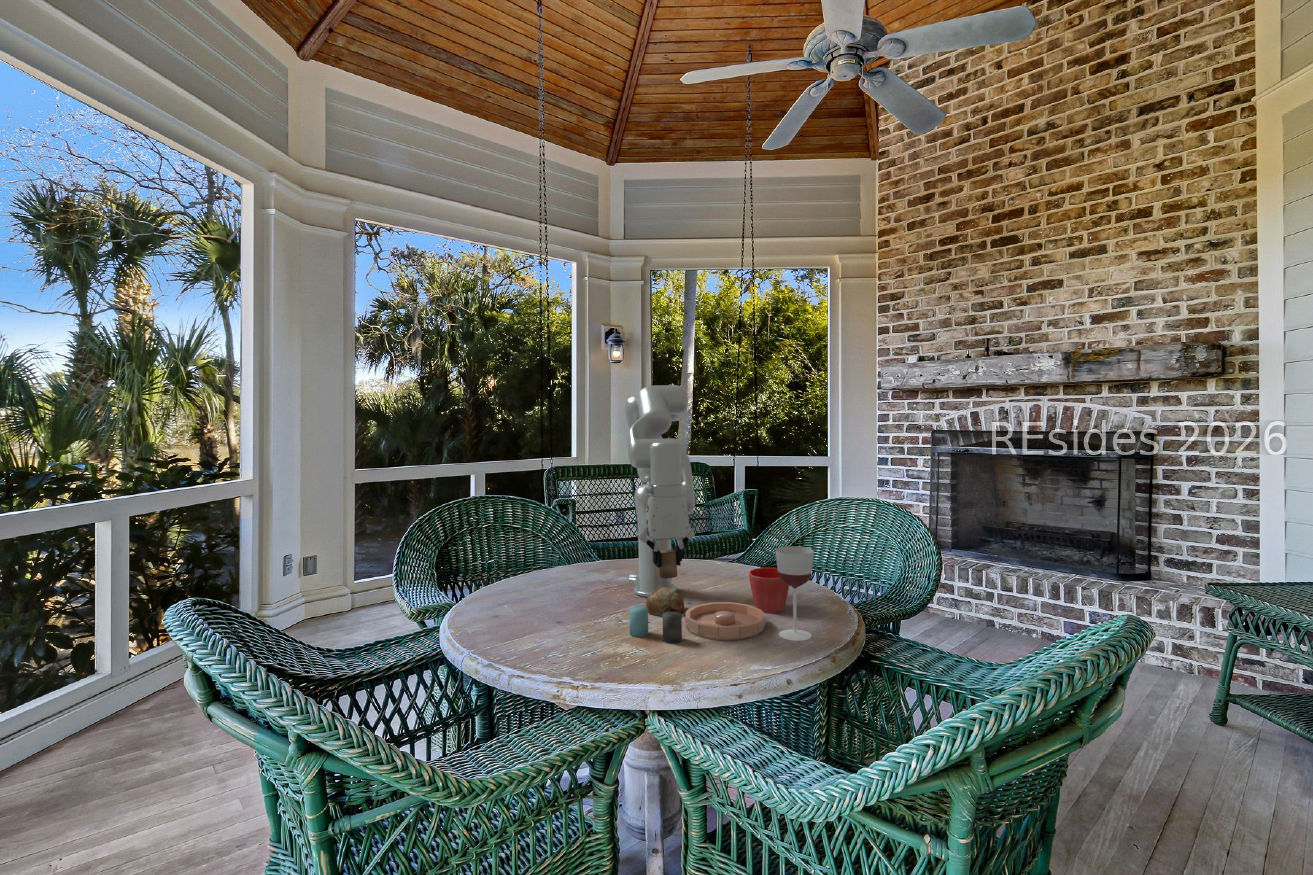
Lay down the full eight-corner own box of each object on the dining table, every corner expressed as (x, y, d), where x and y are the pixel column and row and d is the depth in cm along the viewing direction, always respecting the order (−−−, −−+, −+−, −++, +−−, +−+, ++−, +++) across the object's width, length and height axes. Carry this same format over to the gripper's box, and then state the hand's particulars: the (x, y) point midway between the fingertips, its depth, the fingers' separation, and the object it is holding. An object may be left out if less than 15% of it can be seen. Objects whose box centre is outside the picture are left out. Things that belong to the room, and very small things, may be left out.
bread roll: (653, 630, 167) (658, 606, 164) (637, 604, 175) (642, 581, 172) (686, 624, 172) (692, 600, 168) (669, 599, 180) (674, 576, 176)
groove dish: (672, 632, 155) (672, 619, 155) (706, 609, 172) (706, 598, 172) (746, 645, 146) (746, 632, 146) (775, 620, 162) (775, 608, 162)
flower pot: (791, 615, 166) (790, 578, 165) (747, 613, 168) (747, 576, 167) (791, 603, 176) (790, 568, 176) (750, 601, 178) (749, 566, 178)
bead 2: (656, 577, 159) (654, 553, 159) (664, 572, 163) (663, 549, 162) (672, 579, 157) (670, 554, 156) (680, 574, 161) (678, 550, 160)
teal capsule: (626, 635, 154) (625, 610, 154) (635, 629, 158) (635, 605, 157) (642, 638, 152) (642, 613, 151) (651, 632, 156) (651, 607, 155)
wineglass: (807, 643, 146) (806, 555, 145) (771, 636, 151) (770, 551, 150) (818, 632, 153) (818, 548, 152) (783, 626, 158) (782, 545, 157)
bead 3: (659, 641, 149) (659, 615, 149) (668, 635, 153) (668, 610, 153) (676, 644, 147) (675, 618, 147) (685, 638, 151) (684, 613, 151)
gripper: (637, 495, 153) (638, 572, 154) (704, 491, 158) (705, 565, 159) (629, 491, 160) (630, 564, 161) (693, 487, 165) (694, 558, 166)
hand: (667, 564), depth 160 cm, fingers closed on bead 2, 4 cm apart
